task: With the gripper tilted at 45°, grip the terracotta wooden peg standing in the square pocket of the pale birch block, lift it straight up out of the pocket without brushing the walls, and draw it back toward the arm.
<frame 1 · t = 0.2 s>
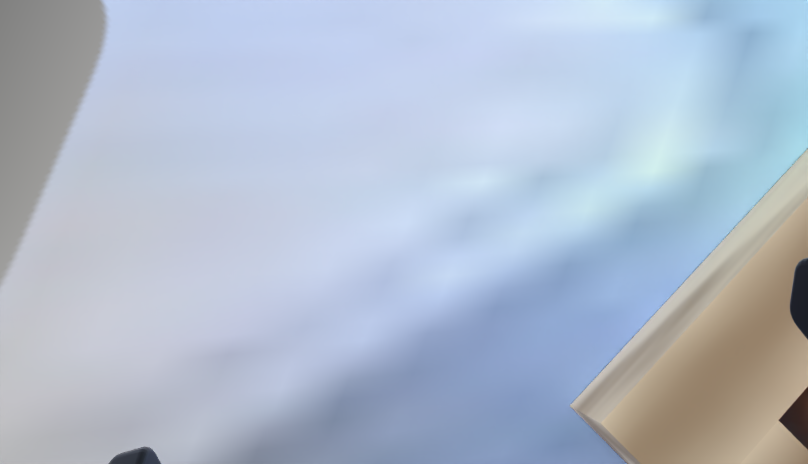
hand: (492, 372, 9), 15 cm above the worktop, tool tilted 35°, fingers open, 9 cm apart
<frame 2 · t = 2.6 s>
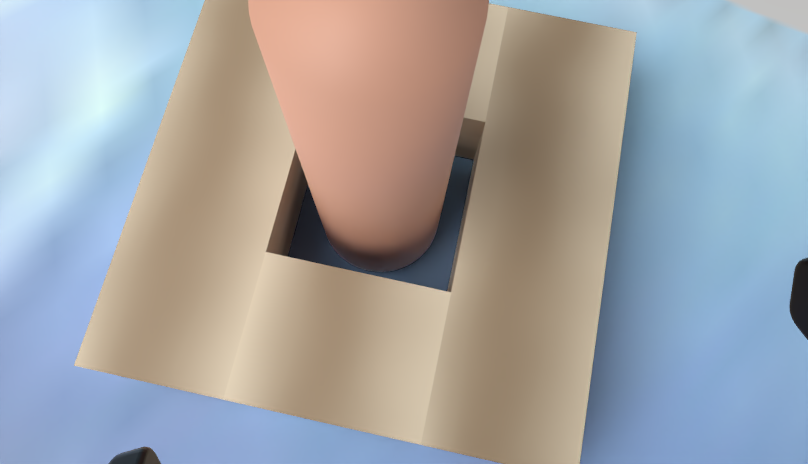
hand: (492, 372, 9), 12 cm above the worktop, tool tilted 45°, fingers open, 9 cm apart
pocket block: (380, 215, 22), on the worktop
terracotta peg: (377, 143, 16), in the pocket block
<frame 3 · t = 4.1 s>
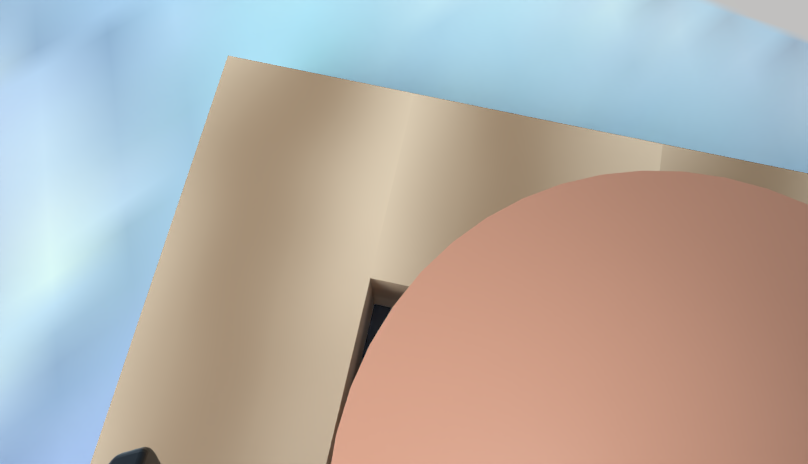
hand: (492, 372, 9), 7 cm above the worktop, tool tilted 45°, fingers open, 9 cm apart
pocket block: (463, 443, 15), on the worktop
terracotta peg: (507, 457, 9), in the pocket block
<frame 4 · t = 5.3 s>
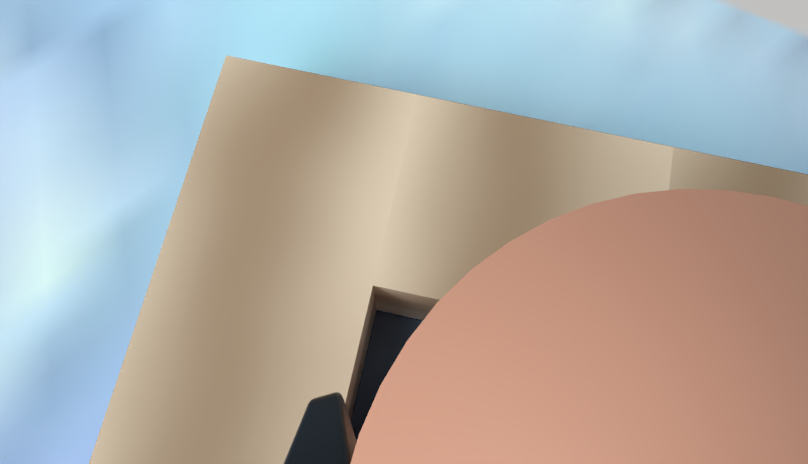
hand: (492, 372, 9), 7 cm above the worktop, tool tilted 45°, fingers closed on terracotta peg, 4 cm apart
pocket block: (467, 453, 15), on the worktop
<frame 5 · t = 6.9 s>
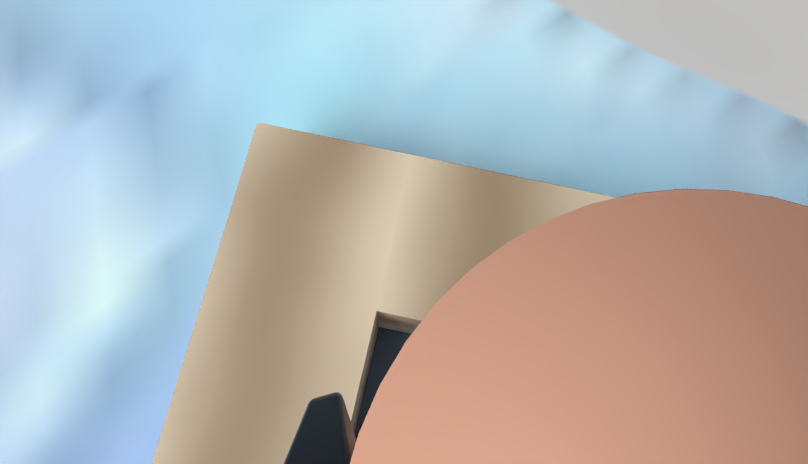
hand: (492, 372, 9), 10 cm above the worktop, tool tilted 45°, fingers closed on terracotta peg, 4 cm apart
pocket block: (453, 445, 18), on the worktop
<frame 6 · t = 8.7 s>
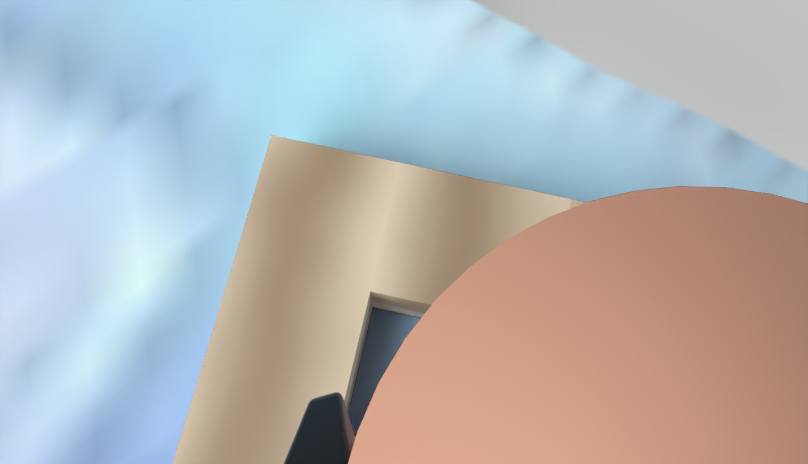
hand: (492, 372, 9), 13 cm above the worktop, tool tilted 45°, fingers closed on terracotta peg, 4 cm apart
pocket block: (434, 405, 21), on the worktop
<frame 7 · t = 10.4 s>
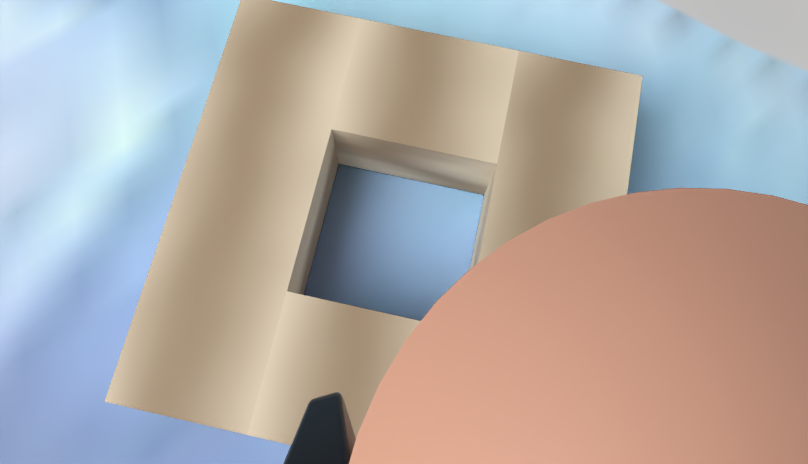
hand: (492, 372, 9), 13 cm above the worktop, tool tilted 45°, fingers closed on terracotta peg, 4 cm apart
pocket block: (394, 249, 23), on the worktop
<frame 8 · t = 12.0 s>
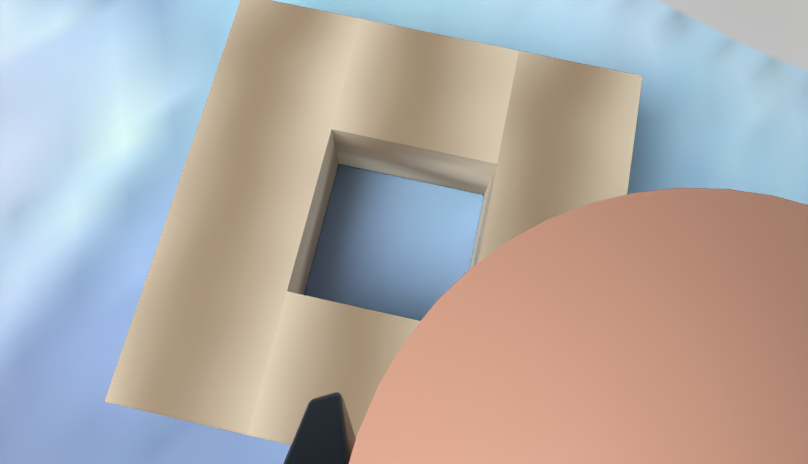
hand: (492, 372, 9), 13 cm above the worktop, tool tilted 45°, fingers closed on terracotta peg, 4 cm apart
pocket block: (394, 249, 23), on the worktop
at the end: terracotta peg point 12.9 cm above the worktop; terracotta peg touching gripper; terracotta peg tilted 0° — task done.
